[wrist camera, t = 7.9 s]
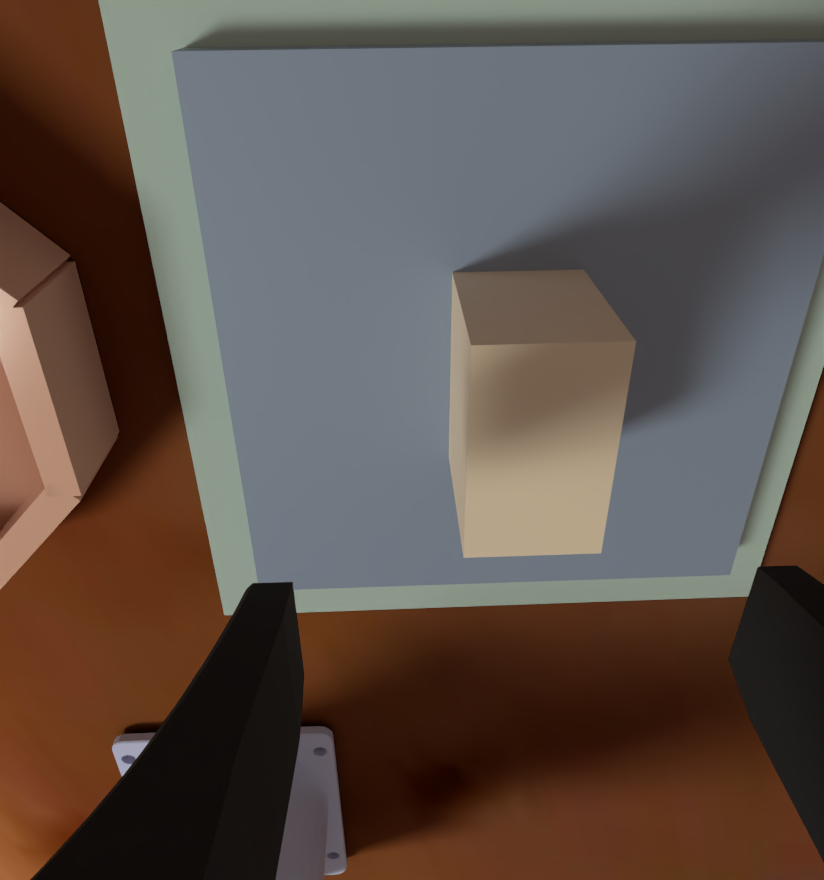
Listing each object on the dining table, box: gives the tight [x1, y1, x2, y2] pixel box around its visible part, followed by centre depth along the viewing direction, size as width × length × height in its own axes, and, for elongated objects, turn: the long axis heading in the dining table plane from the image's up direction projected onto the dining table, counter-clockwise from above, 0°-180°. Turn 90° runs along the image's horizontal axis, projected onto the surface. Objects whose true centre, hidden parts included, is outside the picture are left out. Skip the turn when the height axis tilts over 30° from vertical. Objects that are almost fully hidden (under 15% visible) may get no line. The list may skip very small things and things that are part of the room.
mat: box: [98, 0, 824, 615], centre depth 19 cm, size 18×17×1 cm
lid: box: [171, 39, 824, 590], centre depth 17 cm, size 14×14×5 cm
